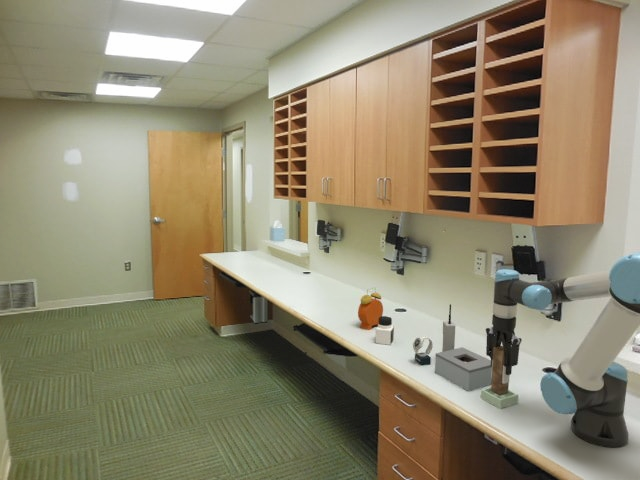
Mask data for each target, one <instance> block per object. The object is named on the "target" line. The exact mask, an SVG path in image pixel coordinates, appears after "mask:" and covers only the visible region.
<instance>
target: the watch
mask: <svg viewBox="0 0 640 480" xmlns="http://www.w3.org/2000/svg"><path fill="white" fill-rule="evenodd" d="M425 340H428V341H429V343H428V346H427V348H426V350H425V352H419V350H420V349H422V347H423V344H424V342H425ZM433 345H434V343H433V342H432V340H431V339H430V338H429V337H427V336H419V337H417V338H415V339H414V341H413V343H412V348H413V351H414V352H415V353H414V362H416V363H417V364H418V365H420V366H421V367H422V366H430V365H431V364H432V363H431V361H432V359H431V356H429V354H430V353H431V352H432V349H433Z"/></svg>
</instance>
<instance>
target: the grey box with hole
mask: <svg viewBox="0 0 640 480" xmlns="http://www.w3.org/2000/svg"><path fill="white" fill-rule="evenodd" d="M434 358H435V359H434V360H435V362H434V373H435V374H436V375H439V376H440V377H442V378H443V379H445V380H447V381H449V382H451V383H453V384H454V385H457V386H458V387H460V388H462V389H463V390H466V391H467V392H471V391H474V390H475V391H476V390H477V389H483V388H484V387H485V388H486V387H490V386H491V380H492V378H491V372H492V368H491V359H489V358H487V357H484V356H482V355H480V354H477V353H475V352H473V351H471V350H469V349H467V348H465V347H463V346H462V347H458V348H454V349H453V350H448V351H444V352H442V351H439V352H436V353H435V357H434ZM465 362H467V363H465Z"/></svg>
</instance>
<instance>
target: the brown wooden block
mask: <svg viewBox="0 0 640 480" xmlns="http://www.w3.org/2000/svg"><path fill="white" fill-rule="evenodd" d="M504 364H505V357H504V347H503V345H501V346H499V347H494V349H493V365H492V380H491V385H490V387H491V391H492V392H494V393H495V394H497V395H499V396H501V395H504V394H507V393H508V390H509V383H510V382H509V383H505V384H503V383H502V374H503V365H504Z"/></svg>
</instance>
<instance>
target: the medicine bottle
mask: <svg viewBox="0 0 640 480" xmlns="http://www.w3.org/2000/svg"><path fill="white" fill-rule="evenodd" d="M392 320H393V319H392V317H391V316H390V315H389V316H388V315H382V316H381V317H379V324H378V326H376V328H375V344H379V345H388V346H391V345H392V343H393V341H394V337H395V336H394V335H395V333H394V332H395V331H394V330H395V326H394V325H393V324H392V322H393V321H392Z"/></svg>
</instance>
